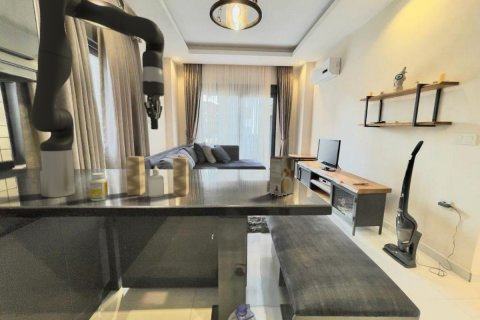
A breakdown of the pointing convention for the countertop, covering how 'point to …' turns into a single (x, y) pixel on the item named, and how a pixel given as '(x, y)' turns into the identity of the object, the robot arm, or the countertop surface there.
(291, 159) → the coffee box
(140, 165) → the post left
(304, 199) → the countertop surface
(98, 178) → the supplement bottle
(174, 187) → the post right
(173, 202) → the countertop surface
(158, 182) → the eye dropper bottle
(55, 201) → the countertop surface
